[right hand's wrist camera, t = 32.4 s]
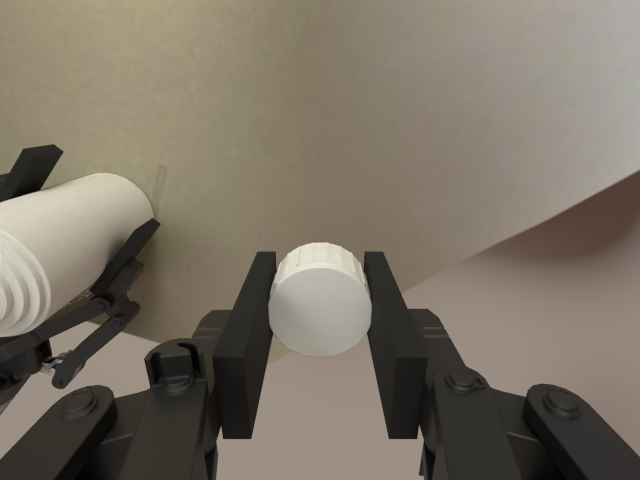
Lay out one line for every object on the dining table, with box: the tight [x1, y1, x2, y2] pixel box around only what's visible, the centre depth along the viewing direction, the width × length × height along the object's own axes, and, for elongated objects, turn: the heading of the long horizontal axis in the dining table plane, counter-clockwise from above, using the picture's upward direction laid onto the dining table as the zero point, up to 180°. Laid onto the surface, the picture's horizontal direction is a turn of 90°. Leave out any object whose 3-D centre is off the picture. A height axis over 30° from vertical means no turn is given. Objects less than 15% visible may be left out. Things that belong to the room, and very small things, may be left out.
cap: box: [268, 242, 372, 357], centre depth 14 cm, size 4×4×2 cm
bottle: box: [0, 173, 154, 337], centre depth 23 cm, size 7×8×18 cm
